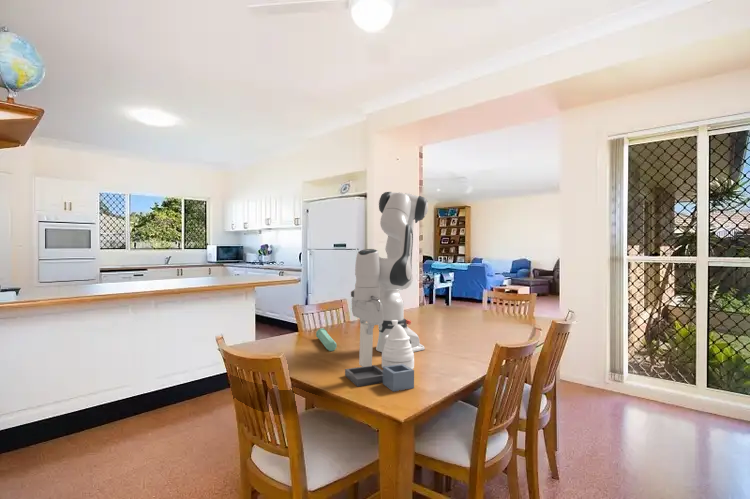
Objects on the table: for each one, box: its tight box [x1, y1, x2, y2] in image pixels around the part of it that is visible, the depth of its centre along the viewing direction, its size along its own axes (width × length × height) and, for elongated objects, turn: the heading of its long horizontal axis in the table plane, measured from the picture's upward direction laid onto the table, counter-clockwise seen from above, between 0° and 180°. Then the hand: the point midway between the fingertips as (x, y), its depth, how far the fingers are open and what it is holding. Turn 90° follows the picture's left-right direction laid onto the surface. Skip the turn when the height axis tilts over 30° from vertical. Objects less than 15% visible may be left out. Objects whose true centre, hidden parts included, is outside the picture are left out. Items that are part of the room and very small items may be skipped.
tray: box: [344, 364, 383, 388], centre depth 143 cm, size 12×12×2 cm
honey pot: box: [381, 320, 415, 370], centre depth 157 cm, size 13×13×18 cm
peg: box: [358, 322, 374, 367], centre depth 142 cm, size 4×4×15 cm
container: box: [315, 327, 337, 352], centre depth 190 cm, size 6×6×25 cm
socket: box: [382, 364, 415, 392], centre depth 135 cm, size 8×8×6 cm
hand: (366, 332), depth 142 cm, fingers closed on peg, 3 cm apart
